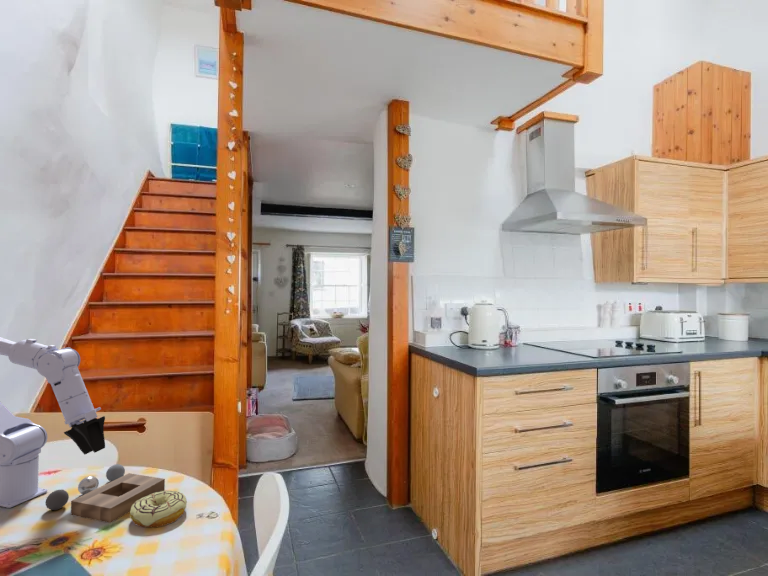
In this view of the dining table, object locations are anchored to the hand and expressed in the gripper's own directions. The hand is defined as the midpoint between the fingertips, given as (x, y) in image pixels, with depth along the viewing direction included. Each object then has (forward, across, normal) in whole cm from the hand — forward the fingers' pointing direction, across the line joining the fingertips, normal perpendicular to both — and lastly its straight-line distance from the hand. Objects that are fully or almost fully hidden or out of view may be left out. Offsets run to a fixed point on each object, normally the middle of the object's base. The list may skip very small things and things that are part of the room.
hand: (94, 451), depth 94 cm
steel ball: (+7, +5, +2) cm, 9 cm away
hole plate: (+13, -4, 0) cm, 14 cm away
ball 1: (+6, +2, +9) cm, 11 cm away
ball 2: (+8, +8, -4) cm, 12 cm away
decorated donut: (+18, -16, -2) cm, 24 cm away
